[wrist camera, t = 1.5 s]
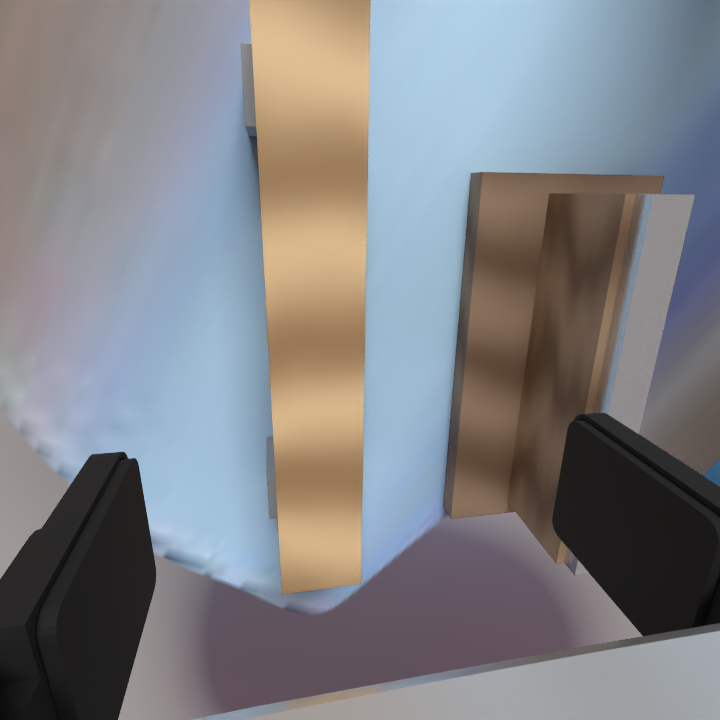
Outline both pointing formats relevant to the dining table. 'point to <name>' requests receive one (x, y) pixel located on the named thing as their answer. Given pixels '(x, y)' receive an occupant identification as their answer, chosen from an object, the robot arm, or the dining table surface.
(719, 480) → the perfume bottle
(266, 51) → the oak batten
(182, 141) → the dining table surface
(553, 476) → the stand
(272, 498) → the pair of grey cubes
